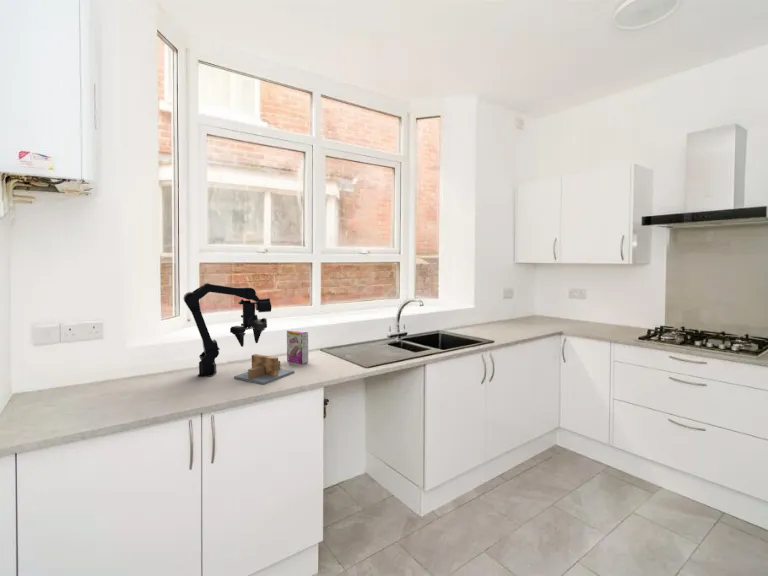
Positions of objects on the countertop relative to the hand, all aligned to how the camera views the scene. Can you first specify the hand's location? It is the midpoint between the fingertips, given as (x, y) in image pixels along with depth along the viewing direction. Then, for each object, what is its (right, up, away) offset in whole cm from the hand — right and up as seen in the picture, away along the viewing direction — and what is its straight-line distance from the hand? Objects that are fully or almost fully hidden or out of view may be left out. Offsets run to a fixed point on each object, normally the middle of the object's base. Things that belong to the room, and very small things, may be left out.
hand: (249, 344), depth 196 cm
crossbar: (+10, -12, -10) cm, 18 cm away
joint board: (+10, -13, -10) cm, 19 cm away
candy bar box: (+20, -11, +15) cm, 28 cm away
